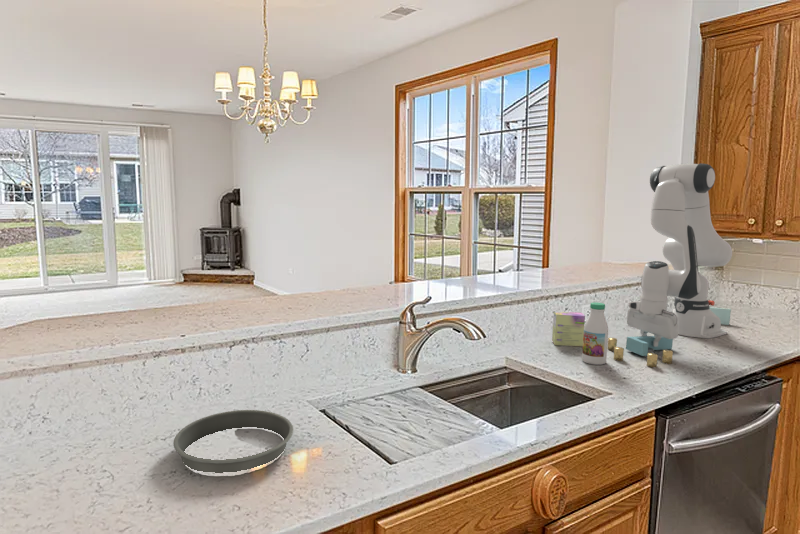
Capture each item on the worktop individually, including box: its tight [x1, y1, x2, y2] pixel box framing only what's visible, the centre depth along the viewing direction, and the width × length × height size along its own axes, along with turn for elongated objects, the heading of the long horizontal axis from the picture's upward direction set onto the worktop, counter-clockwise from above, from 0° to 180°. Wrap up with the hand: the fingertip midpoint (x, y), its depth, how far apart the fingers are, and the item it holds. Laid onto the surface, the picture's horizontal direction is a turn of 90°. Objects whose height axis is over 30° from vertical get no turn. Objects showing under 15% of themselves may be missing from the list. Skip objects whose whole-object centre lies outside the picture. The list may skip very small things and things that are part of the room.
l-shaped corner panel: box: [710, 306, 732, 326], centre depth 238 cm, size 12×12×8 cm
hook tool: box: [625, 335, 674, 357], centre depth 188 cm, size 18×8×4 cm, turn 106°
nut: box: [643, 347, 655, 358], centre depth 185 cm, size 4×4×2 cm
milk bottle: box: [581, 301, 609, 366], centre depth 176 cm, size 8×8×20 cm
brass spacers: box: [607, 337, 674, 369], centre depth 183 cm, size 16×22×4 cm
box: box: [551, 311, 586, 348], centre depth 197 cm, size 10×6×12 cm, turn 84°
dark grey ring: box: [173, 409, 294, 473], centre depth 114 cm, size 25×25×4 cm
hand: (650, 344), depth 191 cm, fingers closed on hook tool, 3 cm apart
